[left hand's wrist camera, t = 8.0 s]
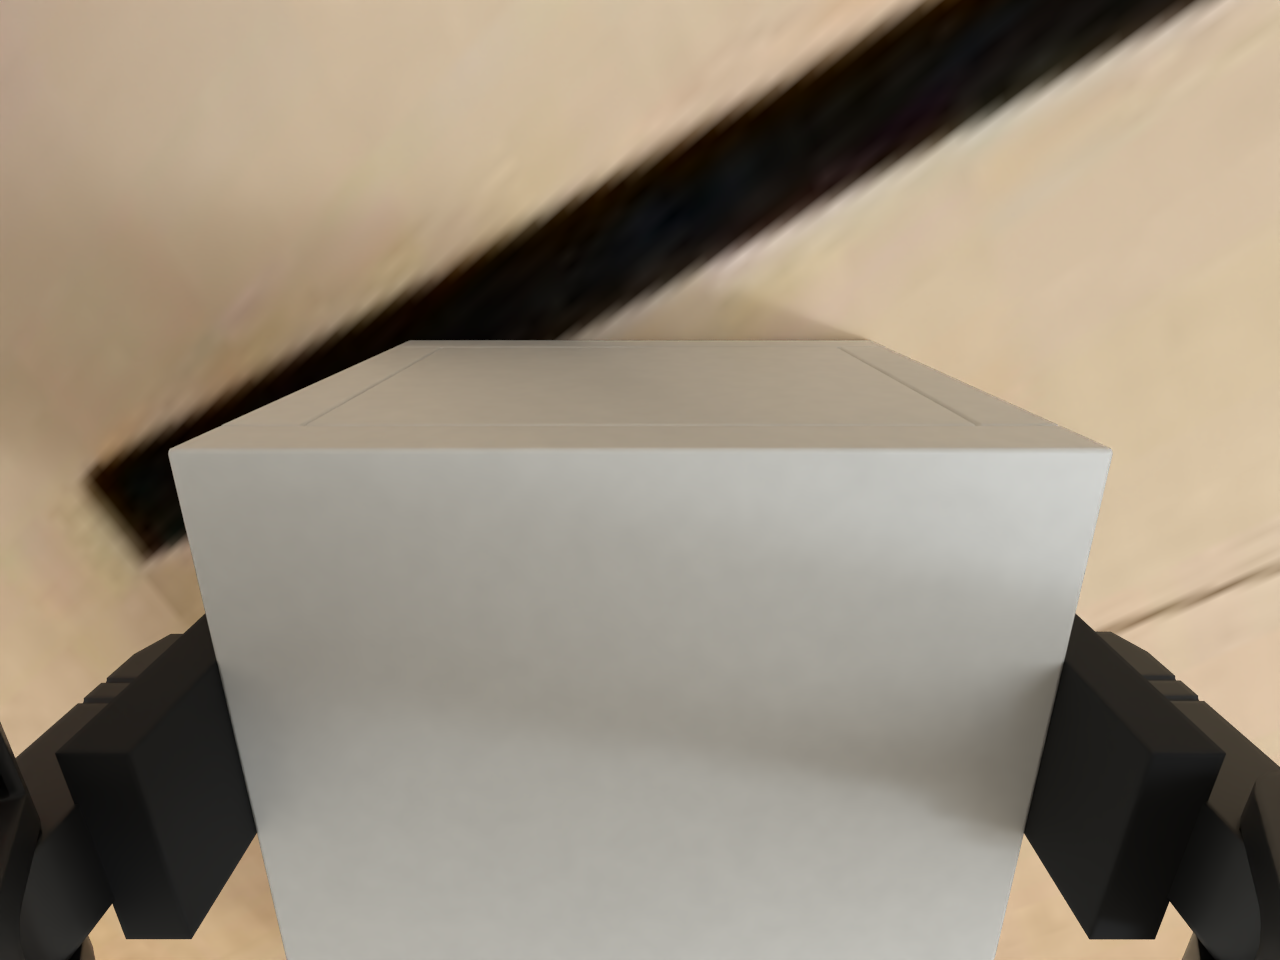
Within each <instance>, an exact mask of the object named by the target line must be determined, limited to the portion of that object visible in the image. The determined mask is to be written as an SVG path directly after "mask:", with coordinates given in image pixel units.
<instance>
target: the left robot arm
mask: <svg viewBox="0 0 1280 960" xmlns="http://www.w3.org/2000/svg"><path fill="white" fill-rule="evenodd" d="M256 833H257V830H256V826H255V822H254V817H253V813H252V809H251V805H250V800H249V796H248V792H247V788H246V783H245V779H244V775H243V771H242V766H241V762H240V758H239V754H238V749H237V745H236V741H235V736H234V732H233V728H232V724H231V719H230V715H229V711H228V707H227V702H226V698H225V694H224V690H223V685H222V681H221V677H220V673H219V668H218V664H217V660H216V656H215V651H214V647H213V643H212V638H211V634H210V630H209V626H208V621H207V617H206V613H205V614H204V615H203V616H202V617H201V618H200V619H199V620H198V621H197V622H196V623H195V624H194V625H192V626H191V627H190V628H189V629H188V630H187V631H186V632H185V633H184V634H170V635H168V636H166V637H165V638H163V639H161V640H159V641H157V642H155V643H154V644H152V645H150V646H148V647H146V648H145V649H143V650H141V651H139V652H137V653H136V654H134V655H133V656H132V657H130V658H129V659H128V660H127V661H126V662H125V663H124V664H122V665H121V666H120V667H119V668H118V669H117V670H116V671H114V672H113V673H112V674H111V675H110V676H109V677H108V678H107V682H106V683H101V684H100V685H98V686H97V687H96V688H95V689H94V690H93V691H92V692H90V693H89V694H88V695H87V696H86V697H85V698H84V702H83V703H78V704H77V705H76V706H75V707H73V708H72V709H71V710H70V711H69V712H68V713H67V714H65V715H64V716H63V717H62V718H61V719H60V720H59V721H57V722H56V723H55V724H54V725H53V726H52V727H51V728H49V729H48V730H47V731H46V732H45V733H44V734H43V735H41V736H40V737H39V738H38V739H37V740H36V741H35V742H33V743H32V744H31V745H30V746H29V747H28V748H27V749H25V750H24V751H23V752H22V753H21V754H20V755H19V756H17V757H16V758H15V757H14V754H13V752H12V749H11V747H10V744H9V742H8V740H7V737H6V735H5V732H4V730H3V727H2V725H1V723H0V960H95V956H94V951H93V946H92V944H91V941H90V939H89V936H88V935H89V933H90V932H91V931H92V929H93V928H94V927H95V925H96V924H97V923H98V921H99V920H100V919H101V918H102V916H103V915H104V914H105V912H106V911H107V910H108V908H109V907H110V906H111V904H113V906H114V909H115V911H116V914H117V917H118V919H119V922H120V924H121V927H122V930H123V932H124V935H125V937H126V939H192V937H193V936H194V934H195V932H196V931H197V929H198V928H199V926H200V924H201V923H202V921H203V919H204V918H205V916H206V915H207V913H208V911H209V910H210V908H211V906H212V905H213V903H214V902H215V900H216V898H217V897H218V895H219V893H220V892H221V890H222V889H223V887H224V885H225V884H226V882H227V880H228V879H229V877H230V876H231V874H232V872H233V871H234V869H235V867H236V866H237V864H238V863H239V861H240V859H241V858H242V856H243V854H244V853H245V851H246V850H247V848H248V846H249V845H250V843H251V841H252V840H253V838H254V837H255V835H256ZM1024 834H1025V835H1026V837H1027V839H1028V840H1029V842H1030V844H1031V845H1032V847H1033V848H1034V850H1035V852H1036V853H1037V855H1038V856H1039V858H1040V860H1041V861H1042V863H1043V865H1044V866H1045V868H1046V869H1047V871H1048V873H1049V874H1050V876H1051V878H1052V879H1053V881H1054V882H1055V884H1056V886H1057V887H1058V889H1059V891H1060V892H1061V894H1062V895H1063V897H1064V899H1065V900H1066V902H1067V904H1068V905H1069V907H1070V908H1071V910H1072V912H1073V913H1074V915H1075V917H1076V918H1077V920H1078V921H1079V923H1080V925H1081V926H1082V928H1083V930H1084V931H1085V933H1086V934H1087V936H1088V938H1089V939H1155V938H1156V935H1157V932H1158V930H1159V927H1160V925H1161V922H1162V919H1163V917H1164V914H1165V912H1166V909H1167V906H1168V904H1169V901H1170V902H1171V903H1172V905H1173V906H1174V907H1175V909H1176V910H1177V911H1178V913H1179V914H1180V915H1181V916H1182V918H1183V919H1184V920H1185V922H1186V923H1187V924H1188V926H1189V927H1190V928H1191V929H1192V931H1193V934H1192V936H1191V939H1190V941H1189V944H1188V946H1187V949H1186V951H1185V953H1184V956H1183V958H1182V960H1280V767H1279V766H1278V765H1277V764H1276V763H1275V762H1273V761H1272V760H1271V759H1270V758H1269V757H1268V756H1267V755H1265V754H1264V753H1263V752H1262V751H1261V750H1260V749H1258V748H1257V747H1256V746H1255V745H1254V744H1253V743H1252V742H1250V741H1249V740H1248V739H1247V738H1246V737H1245V736H1244V735H1242V734H1241V733H1240V732H1239V731H1238V730H1237V729H1236V728H1234V727H1233V726H1232V725H1231V724H1230V723H1229V722H1227V721H1226V720H1225V719H1224V718H1223V717H1222V716H1221V715H1219V714H1218V713H1217V712H1216V711H1215V710H1214V709H1213V708H1211V707H1210V706H1209V705H1208V704H1207V703H1206V702H1205V701H1199V700H1198V695H1196V694H1195V693H1194V692H1193V691H1192V690H1191V689H1190V688H1188V687H1187V686H1186V685H1185V684H1184V683H1183V682H1182V681H1176V680H1175V675H1173V674H1172V673H1171V672H1170V671H1169V670H1168V669H1167V668H1165V667H1164V666H1163V665H1162V664H1161V663H1160V662H1159V661H1157V660H1156V659H1155V658H1154V657H1153V656H1152V655H1151V654H1149V653H1148V652H1147V651H1145V650H1143V649H1141V648H1139V647H1138V646H1136V645H1134V644H1132V643H1130V642H1128V641H1127V640H1125V639H1123V638H1121V637H1119V636H1117V635H1116V634H1114V633H1112V632H1095V631H1094V630H1093V629H1092V628H1091V627H1089V626H1088V625H1087V624H1086V623H1085V622H1084V621H1083V620H1082V619H1081V618H1080V617H1079V616H1078V615H1076V614H1075V616H1074V621H1073V625H1072V629H1071V634H1070V638H1069V642H1068V646H1067V651H1066V655H1065V659H1064V663H1063V668H1062V672H1061V676H1060V681H1059V685H1058V689H1057V693H1056V698H1055V702H1054V706H1053V710H1052V715H1051V719H1050V723H1049V728H1048V732H1047V736H1046V740H1045V745H1044V749H1043V753H1042V757H1041V762H1040V766H1039V770H1038V775H1037V779H1036V783H1035V787H1034V792H1033V796H1032V800H1031V804H1030V809H1029V813H1028V817H1027V822H1026V826H1025V830H1024Z"/></svg>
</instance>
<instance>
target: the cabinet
mask: <svg viewBox="0 0 1280 960" xmlns="http://www.w3.org/2000/svg"><path fill="white" fill-rule="evenodd" d="M168 455H169V459H170V464H171V468H172V472H173V476H174V481H175V485H176V489H177V494H178V498H179V502H180V506H181V511H182V515H183V519H184V523H185V528H186V532H187V536H188V540H189V545H190V549H191V553H192V557H193V562H194V566H195V570H196V575H197V579H198V583H199V587H200V592H201V596H202V600H203V604H204V609H205V613H206V617H207V621H208V626H209V630H210V634H211V638H212V643H213V647H214V651H215V656H216V660H217V664H218V668H219V673H220V677H221V681H222V685H223V690H224V694H225V698H226V702H227V707H228V711H229V715H230V719H231V724H232V728H233V732H234V736H235V741H236V745H237V749H238V754H239V758H240V762H241V766H242V771H243V775H244V779H245V783H246V788H247V792H248V796H249V800H250V805H251V809H252V813H253V817H254V822H255V826H256V830H257V835H258V839H259V843H260V847H261V852H262V856H263V860H264V864H265V869H266V873H267V877H268V881H269V886H270V890H271V894H272V898H273V903H274V907H275V911H276V915H277V920H278V924H279V928H280V933H281V937H282V941H283V945H284V950H285V954H286V958H287V960H994V958H995V954H996V950H997V945H998V941H999V937H1000V933H1001V928H1002V924H1003V920H1004V916H1005V911H1006V907H1007V903H1008V898H1009V894H1010V890H1011V886H1012V881H1013V877H1014V873H1015V869H1016V864H1017V860H1018V856H1019V851H1020V847H1021V843H1022V839H1023V834H1024V830H1025V826H1026V822H1027V817H1028V813H1029V809H1030V804H1031V800H1032V796H1033V792H1034V787H1035V783H1036V779H1037V775H1038V770H1039V766H1040V762H1041V757H1042V753H1043V749H1044V745H1045V740H1046V736H1047V732H1048V728H1049V723H1050V719H1051V715H1052V710H1053V706H1054V702H1055V698H1056V693H1057V689H1058V685H1059V681H1060V676H1061V672H1062V668H1063V663H1064V659H1065V655H1066V651H1067V646H1068V642H1069V638H1070V634H1071V629H1072V625H1073V621H1074V616H1075V612H1076V608H1077V604H1078V599H1079V595H1080V591H1081V587H1082V582H1083V578H1084V574H1085V569H1086V565H1087V561H1088V557H1089V552H1090V548H1091V544H1092V540H1093V535H1094V531H1095V527H1096V522H1097V518H1098V514H1099V510H1100V505H1101V501H1102V497H1103V493H1104V488H1105V484H1106V480H1107V475H1108V471H1109V467H1110V463H1111V458H1112V450H1111V448H1109V447H1107V446H1104V445H1102V444H1100V443H1098V442H1095V441H1093V440H1091V439H1089V438H1086V437H1084V436H1082V435H1080V434H1078V433H1075V432H1073V431H1071V430H1069V429H1066V428H1064V427H1062V426H1058V425H1057V424H1055V423H1053V422H1051V421H1048V420H1046V419H1044V418H1042V417H1039V416H1037V415H1035V414H1033V413H1030V412H1028V411H1026V410H1024V409H1022V408H1019V407H1017V406H1015V405H1013V404H1010V403H1008V402H1006V401H1004V400H1002V399H999V398H997V397H995V396H993V395H990V394H988V393H986V392H984V391H982V390H979V389H977V388H975V387H973V386H970V385H968V384H966V383H964V382H962V381H959V380H957V379H955V378H953V377H950V376H948V375H946V374H944V373H941V372H939V371H937V370H935V369H933V368H930V367H928V366H926V365H924V364H921V363H919V362H917V361H915V360H913V359H910V358H908V357H906V356H904V355H901V354H899V353H897V352H895V351H893V350H890V349H888V348H886V347H885V346H882V345H880V344H878V343H876V342H873V341H871V340H410V341H407V342H405V343H403V344H401V345H399V346H396V347H394V348H392V349H390V350H388V351H385V352H383V353H381V354H379V355H377V356H374V357H372V358H370V359H368V360H365V361H363V362H361V363H359V364H357V365H354V366H352V367H350V368H348V369H345V370H343V371H341V372H339V373H337V374H334V375H332V376H330V377H328V378H325V379H323V380H321V381H319V382H317V383H314V384H312V385H310V386H308V387H305V388H303V389H301V390H299V391H297V392H294V393H292V394H290V395H288V396H285V397H283V398H281V399H279V400H277V401H274V402H272V403H270V404H268V405H265V406H263V407H261V408H259V409H257V410H254V411H252V412H250V413H248V414H245V415H243V416H241V417H239V418H237V419H234V420H232V421H230V422H228V423H225V424H223V425H222V426H220V427H218V428H215V429H213V430H211V431H209V432H206V433H204V434H202V435H200V436H198V437H195V438H193V439H191V440H189V441H186V442H184V443H182V444H180V445H178V446H175V447H173V448H171V449H170V450H169V453H168Z"/></svg>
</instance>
